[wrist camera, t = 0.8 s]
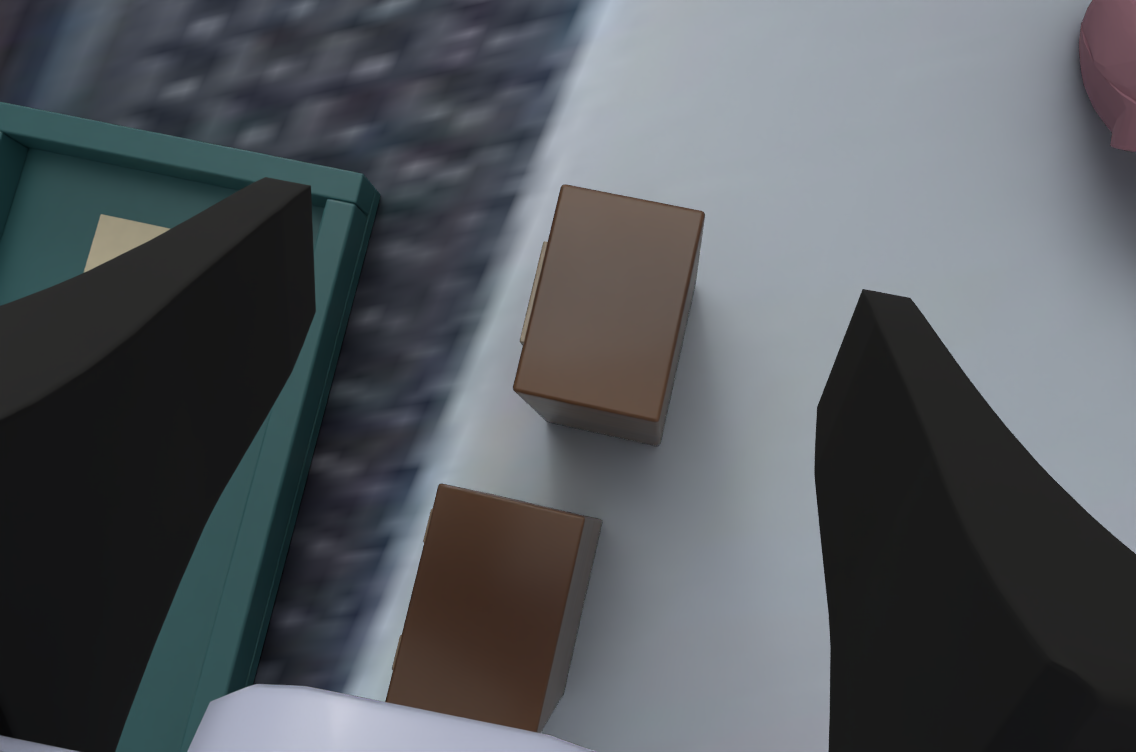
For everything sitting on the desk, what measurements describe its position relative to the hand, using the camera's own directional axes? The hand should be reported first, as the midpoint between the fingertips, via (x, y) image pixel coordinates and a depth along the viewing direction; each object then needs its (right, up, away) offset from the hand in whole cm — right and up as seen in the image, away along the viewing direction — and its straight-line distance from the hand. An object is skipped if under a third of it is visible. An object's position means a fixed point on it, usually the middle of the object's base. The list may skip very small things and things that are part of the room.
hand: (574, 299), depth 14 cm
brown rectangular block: (+1, 0, +13) cm, 13 cm away
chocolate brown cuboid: (-1, -6, +12) cm, 14 cm away
